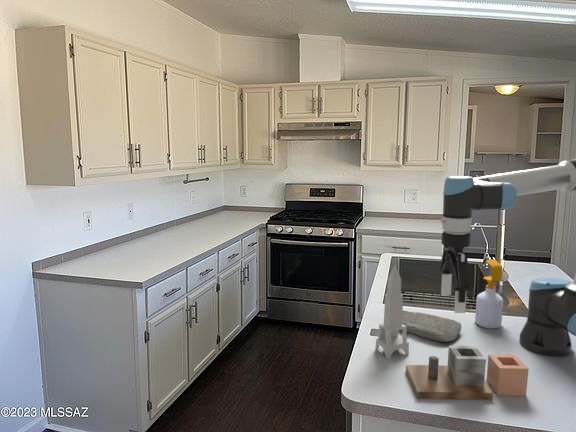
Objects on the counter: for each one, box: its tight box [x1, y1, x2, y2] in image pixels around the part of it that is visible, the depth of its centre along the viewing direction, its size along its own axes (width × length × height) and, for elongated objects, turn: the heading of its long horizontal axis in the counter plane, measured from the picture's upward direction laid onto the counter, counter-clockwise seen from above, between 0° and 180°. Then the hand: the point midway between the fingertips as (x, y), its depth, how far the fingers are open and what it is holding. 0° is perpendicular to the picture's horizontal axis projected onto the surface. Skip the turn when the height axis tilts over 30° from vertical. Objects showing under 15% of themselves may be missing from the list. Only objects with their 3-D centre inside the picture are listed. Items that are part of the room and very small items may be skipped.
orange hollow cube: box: [486, 354, 529, 397], centre depth 122 cm, size 8×8×8 cm
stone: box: [402, 310, 462, 343], centre depth 160 cm, size 26×4×15 cm
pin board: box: [405, 345, 494, 401], centre depth 124 cm, size 20×14×10 cm
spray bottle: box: [474, 259, 504, 330], centre depth 162 cm, size 9×9×25 cm
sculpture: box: [375, 264, 410, 360], centre depth 141 cm, size 7×8×30 cm
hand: (452, 303), depth 127 cm, fingers open, 13 cm apart
